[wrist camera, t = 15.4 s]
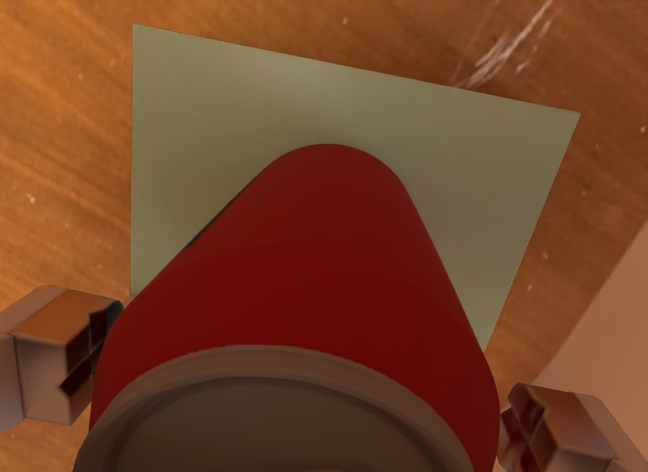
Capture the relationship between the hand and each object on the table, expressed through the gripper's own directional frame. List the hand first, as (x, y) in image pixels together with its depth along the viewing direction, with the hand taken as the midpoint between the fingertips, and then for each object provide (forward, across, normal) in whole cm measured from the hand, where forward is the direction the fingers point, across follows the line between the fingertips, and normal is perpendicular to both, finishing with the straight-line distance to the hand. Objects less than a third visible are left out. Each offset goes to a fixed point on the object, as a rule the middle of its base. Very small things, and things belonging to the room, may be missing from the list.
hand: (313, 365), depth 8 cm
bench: (+14, 0, 0) cm, 14 cm away
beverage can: (+9, 0, 0) cm, 9 cm away
